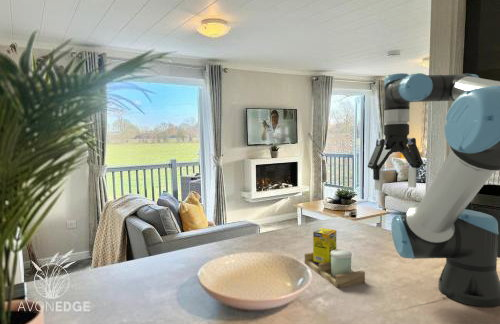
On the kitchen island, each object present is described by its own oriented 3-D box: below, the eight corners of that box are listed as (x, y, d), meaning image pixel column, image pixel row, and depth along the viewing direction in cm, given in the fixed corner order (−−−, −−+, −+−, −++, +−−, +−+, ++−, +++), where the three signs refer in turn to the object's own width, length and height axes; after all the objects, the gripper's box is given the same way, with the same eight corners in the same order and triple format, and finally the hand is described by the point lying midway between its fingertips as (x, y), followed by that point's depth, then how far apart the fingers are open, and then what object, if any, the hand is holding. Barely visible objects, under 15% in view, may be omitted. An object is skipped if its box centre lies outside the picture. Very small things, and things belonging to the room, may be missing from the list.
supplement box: (329, 267, 108) (329, 234, 107) (312, 263, 112) (312, 231, 111) (337, 261, 113) (336, 230, 112) (320, 258, 116) (320, 227, 116)
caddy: (364, 284, 100) (364, 271, 100) (337, 289, 97) (337, 276, 97) (328, 261, 119) (328, 250, 119) (304, 264, 116) (304, 253, 116)
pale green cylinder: (355, 280, 101) (355, 254, 101) (338, 283, 99) (337, 257, 99) (343, 272, 107) (343, 248, 107) (326, 275, 105) (326, 250, 105)
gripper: (417, 123, 115) (416, 184, 117) (356, 124, 108) (356, 189, 109) (436, 122, 108) (434, 187, 110) (372, 123, 100) (371, 193, 102)
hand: (395, 188), depth 110 cm, fingers open, 13 cm apart
